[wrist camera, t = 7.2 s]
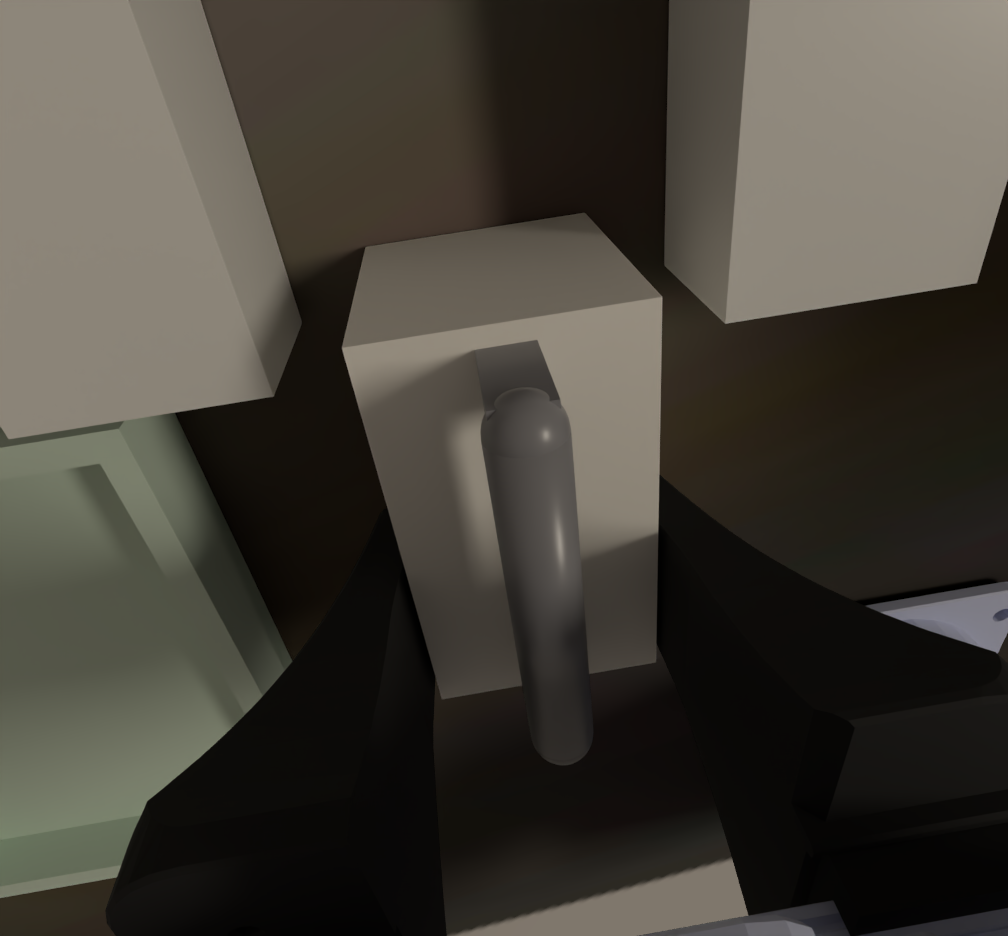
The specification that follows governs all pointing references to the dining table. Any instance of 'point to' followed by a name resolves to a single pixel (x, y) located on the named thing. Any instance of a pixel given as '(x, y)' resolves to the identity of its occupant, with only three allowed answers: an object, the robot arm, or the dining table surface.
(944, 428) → the dining table surface
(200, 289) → the bay
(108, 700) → the tray
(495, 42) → the dining table surface
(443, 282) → the block with grey handle
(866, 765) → the robot arm
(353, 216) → the dining table surface
